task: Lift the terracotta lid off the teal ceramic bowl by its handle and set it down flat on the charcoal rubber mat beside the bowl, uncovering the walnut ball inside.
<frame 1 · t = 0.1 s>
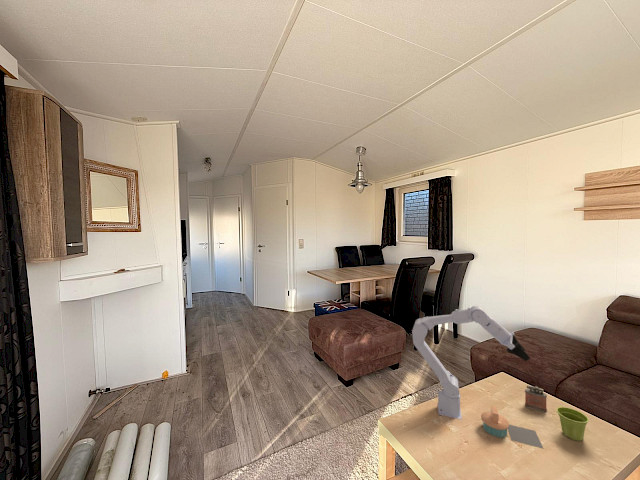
hand: (525, 355, 108), 32 cm above the table, tool tilted 50°, fingers open, 7 cm apart
bowl: (494, 430, 109), on the table
lighter: (535, 408, 123), on the table
ball: (494, 429, 109), point 1 cm above the table, touching bowl
mat: (523, 436, 106), on the table
lid: (494, 421, 109), point 4 cm above the table, touching bowl
plant pot: (572, 435, 106), on the table
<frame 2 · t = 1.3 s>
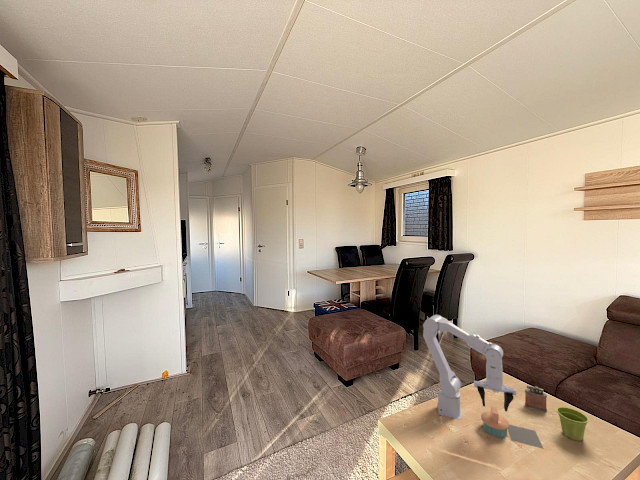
hand: (494, 407, 109), 10 cm above the table, tool pointing down, fingers open, 7 cm apart
nothing on the table moved.
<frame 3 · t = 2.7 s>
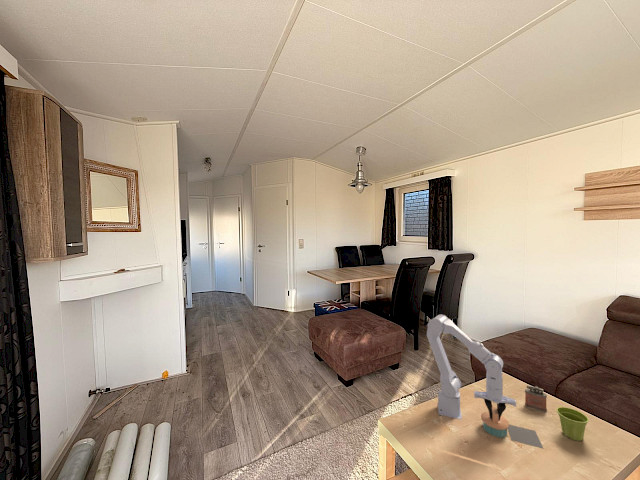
hand: (494, 418, 109), 5 cm above the table, tool pointing down, fingers closed on lid
lid: (494, 421, 109), point 4 cm above the table, touching bowl, gripper
everything else where it was.
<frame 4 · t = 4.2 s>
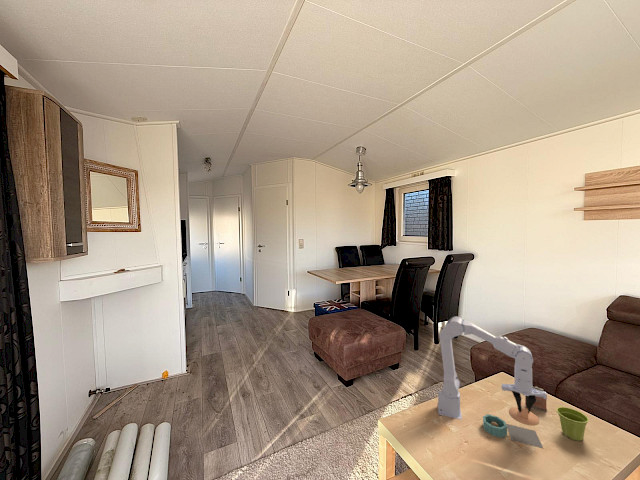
hand: (523, 411, 106), 10 cm above the table, tool pointing down, fingers closed on lid
lid: (523, 417, 106), point 8 cm above the table, touching gripper
everything else where it was.
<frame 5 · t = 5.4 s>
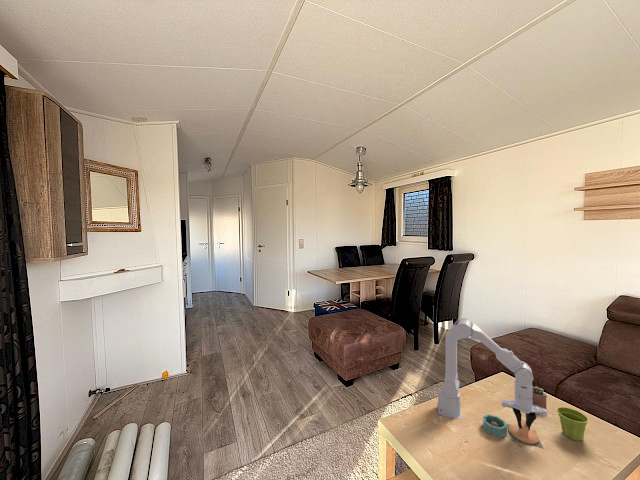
hand: (523, 428, 106), 4 cm above the table, tool pointing down, fingers closed on lid
lid: (523, 434, 106), point 1 cm above the table, touching gripper
everything else where it was.
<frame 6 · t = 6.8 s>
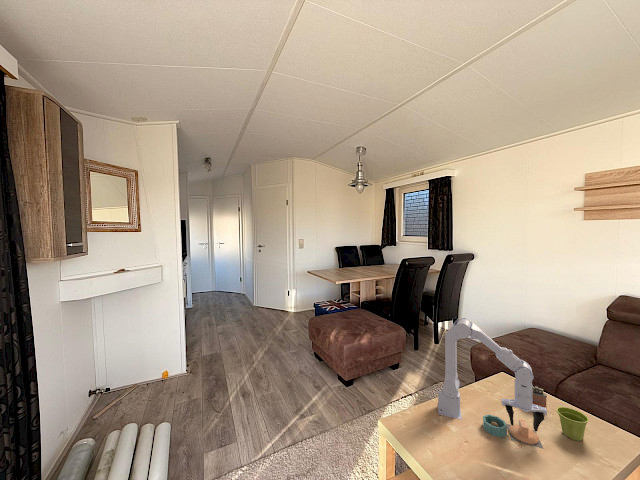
hand: (523, 426, 106), 4 cm above the table, tool pointing down, fingers open, 7 cm apart
lid: (523, 435, 106), point 1 cm above the table, touching mat
everything else where it was.
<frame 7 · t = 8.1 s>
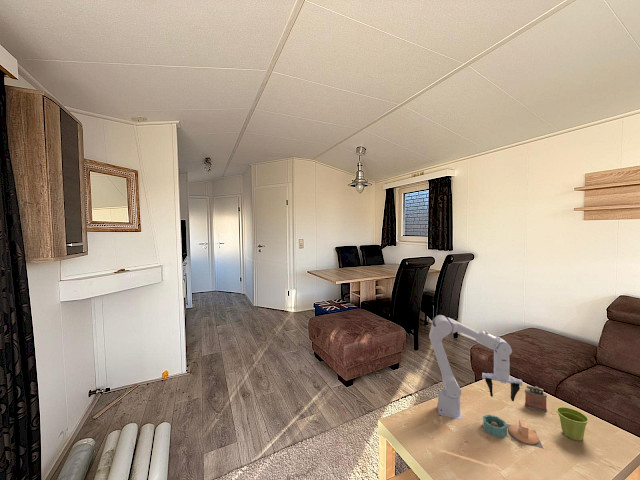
hand: (501, 397, 115), 10 cm above the table, tool pointing down, fingers open, 7 cm apart
nothing on the table moved.
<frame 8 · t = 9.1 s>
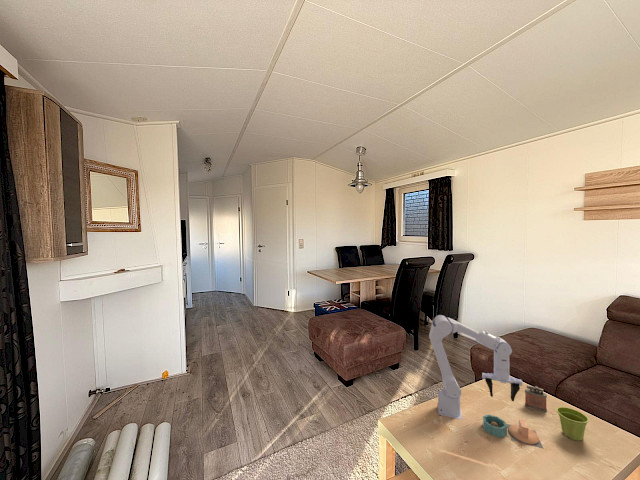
hand: (501, 397, 115), 10 cm above the table, tool pointing down, fingers open, 7 cm apart
nothing on the table moved.
at the end: lid inside the target area on the mat (0.1 cm from its centre), point 0.6 cm above the mat's base; lid tilted 0°; the gripper is holding nothing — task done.
